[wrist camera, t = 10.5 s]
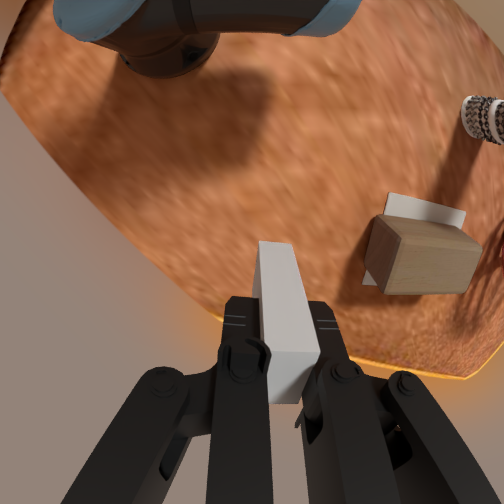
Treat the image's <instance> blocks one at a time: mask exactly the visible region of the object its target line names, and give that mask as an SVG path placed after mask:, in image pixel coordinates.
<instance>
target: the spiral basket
mask: <svg viewBox="0 0 504 504" xmlns="http://www.w3.org/2000/svg"><path fill="white" fill-rule="evenodd" d="M501 265H502V272H503V277H504V241H503V247H502V258H501Z"/></svg>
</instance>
